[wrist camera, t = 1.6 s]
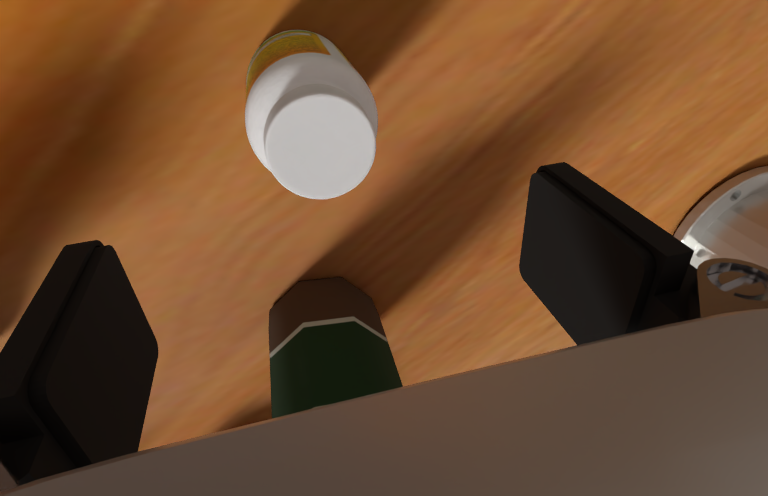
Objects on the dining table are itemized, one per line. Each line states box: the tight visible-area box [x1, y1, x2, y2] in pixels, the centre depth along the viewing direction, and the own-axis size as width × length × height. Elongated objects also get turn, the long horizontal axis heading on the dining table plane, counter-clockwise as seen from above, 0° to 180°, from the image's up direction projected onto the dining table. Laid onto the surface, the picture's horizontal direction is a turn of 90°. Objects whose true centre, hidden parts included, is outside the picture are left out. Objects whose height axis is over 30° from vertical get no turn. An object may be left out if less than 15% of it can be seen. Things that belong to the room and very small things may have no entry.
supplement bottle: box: [245, 30, 378, 199], centre depth 21 cm, size 5×5×10 cm
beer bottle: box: [269, 277, 403, 419], centre depth 23 cm, size 8×8×24 cm
